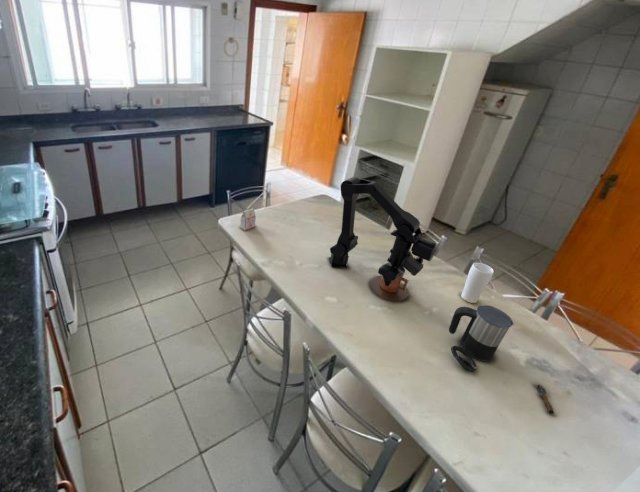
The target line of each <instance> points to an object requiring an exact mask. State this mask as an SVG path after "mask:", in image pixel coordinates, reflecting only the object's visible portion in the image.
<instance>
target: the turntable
mask: <svg viewBox="0 0 640 492" xmlns="http://www.w3.org/2000/svg"><path fill="white" fill-rule="evenodd" d="M381 278H382V275H375V276H374V277H372V278H371V279H370V282H369V287H370V289H371V291H372V292H373V294H375V295H376V296H378V297H379V298H381V299H383V300H385V301H389V302H394V303H397V302H398V303H399V302H403V301H405V300H406V299H407V298H408V297H409V290H408V287H406V289H405V291H403V290H401V289H399V290H398V292H395V293H391V292H387V291H385V290H384V289H382V288H381V286H380V281H381ZM400 285H401V286H404V283H402V282H401V284H400Z"/></svg>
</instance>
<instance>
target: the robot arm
mask: <svg viewBox="0 0 640 492" xmlns="http://www.w3.org/2000/svg"><path fill="white" fill-rule="evenodd" d="M362 194H365V195H367V194H368V195H370V197H371V198H372V199H373V200H374V201H375V202H376V203H377V204H378V205H379V206H380V208H382V210H383V211H384V212H385V213H386V214H387V215H388V216H389V217H390V218H391V220H392V223H393V226H394V227H395V229H393V230H392V231H391V232H390V236H393V237H395V238H394V242H393V245H392V248H391V249H390V250H389V253H390V255H389V257H388V258H387V260H386V262H387V263H389V262H390V264H391V265H392V266H389V265H387V264H386V263H384V264H382V265H381V266H380V267H379V268H378V271H377V273H378V275H379V276H383V279H384V282H385V285H386V286H389V285H390V283H391V281H392V280H393V281H395V279H397V277H398V275H399V271H398V269H399V268H402V269H403V268H404V269H405V271H408V273H409V274H410V275H411V276H414V277H415V276H416V275H418V274H419V273H420V272H421V271H422V270H423V268H424V266H425V264H424V261H427V262H432V260H433V258H434V256H435V254H436V251H437V242H434V241H430V240H427V239H425V238H423V236H424V234H423V232H422V229H421V227H420V226H421V225H420V222H421V221H420V220H419V219H418V218H417V217H416V216H415V215H413V214H412V213H410V212H409V211H407V210H405V209H403V208H402V207H401V206H400V205H399V204H398V203H397V202H396V201H395V200H394V199H393V198H392V197H391V195H390V194H388V192H386V191H385V189H384V188H383V187H382V186H381V185H380V183H379V182H377V181H373V180H368V179H364V178H359V177H357V176H352V177H349V178H347V179H346V180H343V181H342V182H341V183H340V195H341V198H342V200H343V207H342V218H341V220H342V221H341V232H340V234H339V237H338V238H337V241H336V243H335V244H334V245H332V246H331V247H330V248H329V252H330V256H329V257H328V260H329V263H330V265H331V267H332V268H341V269H343V268H345V269H346V268H348V262H349V257H350V256H349V253H350V252H352V250H354V249H355V248H356V247H357V246H358V245H359V241H358V239H359V236H358V235H356V234H355V232H354V230H355V229H354V228H355V217H356V206H357V199H358V198H359V196H360V195H362ZM414 256H415V257H414Z"/></svg>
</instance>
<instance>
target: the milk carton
mask: <svg viewBox="0 0 640 492" xmlns="http://www.w3.org/2000/svg"><path fill="white" fill-rule="evenodd" d="M256 217H257V216H256V212H255V207H253V208H250V209H247V210H244V211H243V212H242V215H241V216H240V225H239V227H240V229H241V230H243V231H247V230H251V229H253V228H256Z"/></svg>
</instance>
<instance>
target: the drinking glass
mask: <svg viewBox="0 0 640 492" xmlns="http://www.w3.org/2000/svg"><path fill="white" fill-rule="evenodd" d="M494 272H495V270H494V269H493V267H491V266H489V265H488V264H485V263H482V262H473V263H472V265H471V266H470V269H469V271H468V274H467V276H466V280H465V283H464V285H463V289H462V291H461V294H460V295H461V298H462V300H464V301H465V302H468V303H470V304H475V303H477V302H478V301H479V299H480V297H481V295H482V294H483V292H484V291H485V289H486V288H487V286H488V284H489V283H490V281H491V279H492V277H493V275H494Z"/></svg>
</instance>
